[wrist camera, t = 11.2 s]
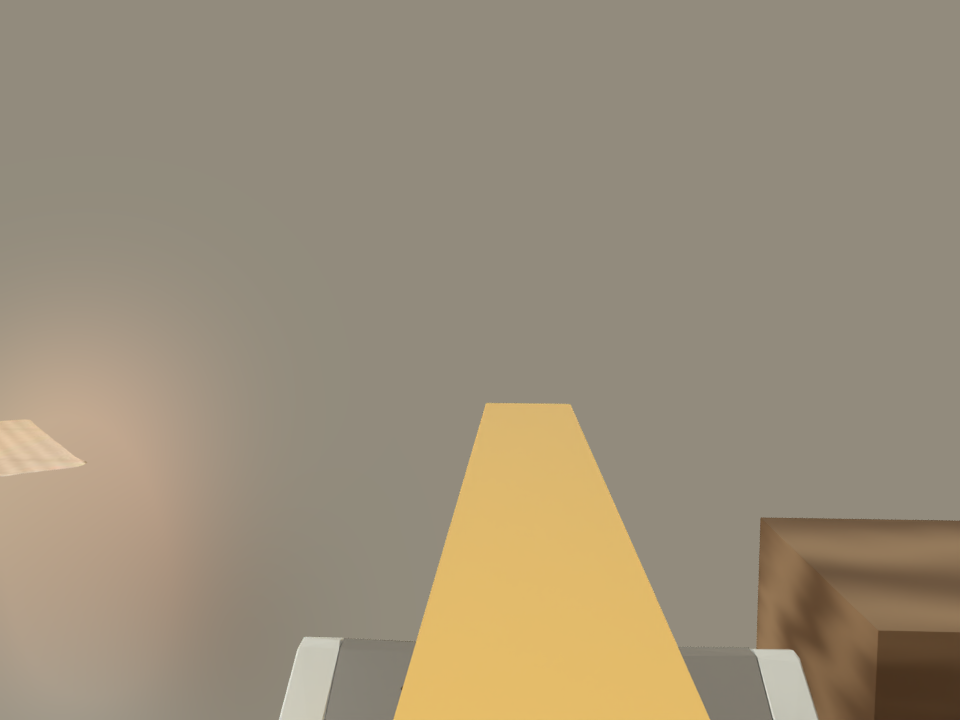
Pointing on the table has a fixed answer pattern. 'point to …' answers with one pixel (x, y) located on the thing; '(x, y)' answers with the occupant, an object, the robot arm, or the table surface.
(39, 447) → the table surface
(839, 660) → the walnut post
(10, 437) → the table surface
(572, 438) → the tan wooden beam
